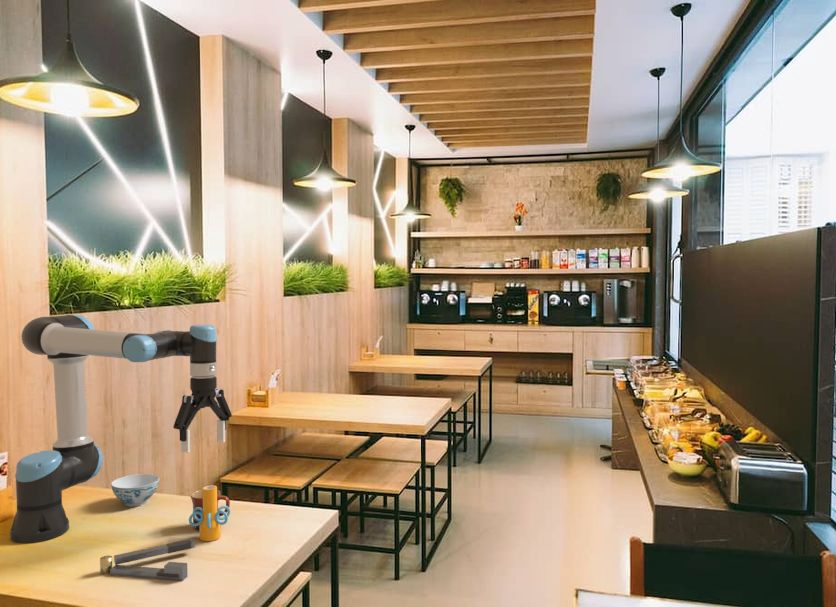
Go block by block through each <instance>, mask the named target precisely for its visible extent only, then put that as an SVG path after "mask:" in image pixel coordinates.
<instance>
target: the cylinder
mask: <svg viewBox="0 0 836 607" xmlns="http://www.w3.org/2000/svg"><path fill="white" fill-rule="evenodd" d="M202 490H203V509H202V508H200V507H196V508H195V509H194V510H193V509H192V513H191V514H190V516H189V517H188V523H189V525H190V526H191V527H194V526H199V525H200V526H199V529H198V530H199V532H198V533H199V540H200V541H202V542H214V541H217V540H219V539H220V538H221V537H222V531H221V530H222V529H221V527H222V526H224V525H226V524H227V523H228V521H229V517H230V515H231V508H230V507H228V506H226V505H221V506H219V507H218V510H217V490H218V486H217V485H212V484H211V485H205V486H203V487H202ZM223 509H227V513H226V512H224V511H225V510H223ZM196 510H200V511H201V512H202V513H201V512H196ZM219 513H222V514H224V515H223V516H219ZM196 514H199V515H200V516H201V519H199V518H197V517H196ZM193 517H194V519H195V520H196V521H199V522H198V523H196V524H194V523H193Z"/></svg>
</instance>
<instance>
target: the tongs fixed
mask: <svg viewBox="0 0 836 607" xmlns="http://www.w3.org/2000/svg"><path fill="white" fill-rule="evenodd" d="M99 566H100V567H99V571H100V572H99V573H100V575H102V576H105V575H106V576H107V575H110V576H119V577H132V578H144V579H145V578H146V579H153V580H154V579H156V580H165V581H166V580H168V581H179V582H183V581H184V580H186V578H187V577H188V563H187V562H180V561H179V562H178V561H177V562H175V561H168V562H167V563H165V565H164V566H163V567H161V568H160V567H149V566H137V565H136V566H135V565H122V564H118V565H115V564H114V566H113V556H112V555H104V556H101V557H100V558H99Z"/></svg>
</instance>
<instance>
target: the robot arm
mask: <svg viewBox="0 0 836 607" xmlns="http://www.w3.org/2000/svg"><path fill="white" fill-rule="evenodd" d="M216 329H217V328H216V327H215V325H214V324H193V325H191V326H190V327H189V331H188V330H187V331H182V330H181V331H180V330H179V331H178V330H169V329H168V330H167V329H166V330H158V331H157V332H153V333H137V332H136V333H135V332H127V331H126V332H125V331H113V330H103V329H102V330H100V329H95V327H94V325H93V323H92V322H91V320H89V319H88V318H87V317H85V316H83V315H79V314H65V315H54V316H53V315H52V316H40V317H37V318H34V319H32V320H30V321H29V322H27V324H25V326H24V327H23V329H22V332H21V343H22V344H23V347H24V348H25V349H26V350H28V351H29V352H30V353H32V354H35V355H39V356H44V355H45V356H47V358H46V359H47V360H48V361H49V362H50V363H51V364H53V378H54V379H53V381H54V399H55V416H56V417H55V419H56V431H57V432H56V433H57V439H56V440H55V442H53V443H52V449H51V450H42V451H39V452H33V453H30V454H27V455H25V456H24V457H22V458H21V459H20V460H18V462H17V463H16V467H15V468H16V469H15V475H14V476H15V477H14V478H15V491H16V494H15V495H16V496H15V497H16V512H15V516H14V518H13V520H12V525H11V527H10V530H9V536H10V537H9V538H10V540H11V541H12V542H15V543H21V544H22V543H23V544H28V543H29V544H30V543H37V542H43V541H47V540H52V539H55V538H58V537H60V536H62V535H64V534H65V533H67V532H68V531H69V529H70V520H69V518H68V517H67V513H66V511H65V508H64V505H63V500H62V499H63V491H65V490H66V489H69V488H72V487H74V486H76V485H79V484H83V483H86V482H88V481H89V480H91V479H93V478H95V476H97V475H98V473H99V472H100V471H101V469H102V466H103V462H104V456H103V452H102V450H101V449H99V448H100V447H99V446H98V444H96V443H94V442H95V441H94V438H93V437H91V436H90V435H89V430H88V429H89V428H88V426H89V425H88V412H87V411H88V410H87V409H88V408H87V394H86V375H85V373H86V372H85V360H87V358H88V357H90V356H95V357H105V358H113V359H115V358H116V359H124V360H125V359H127V360H128V361H129V362H132V363H146V362H149V361H153V360H158V359H160V360H161V359H164V358H170V357H189V376H190V378H189V379H190V380H189V383H190V384H189V385H190V386H189V387H190V391H191V395H186V394H183V396H182V398H181V399H182V400H181V404H180V408H179V409H178V413H177V415H176V418H175V421H174V423H173V427H172V428H173V429H175V430H179V441H180V443H181V444H180V446H181V449H180V450H181V453H182V452H184V453H191V436H190V434H191V433H190V432H191V431H190V429H189V427H190V425H191V423H192V422H193V420H194V418H195V417H196V415H197V413H198V412H199V411H200V410H201V409H204V408H210V409H211V410H212V411H213V413H214V414H215V416H216V417H217V418H218V420H216V442H220V443H225V442H226V431H227V421H230V418H232V416H233V415H232V412H231V410H230V407H229V405H228V403H227V400H226V398H225V392H224V389H223V388H222V389H220V388H217V385H218V384H217V380H218V378H217V341H218V340H217V330H216Z"/></svg>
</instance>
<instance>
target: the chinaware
mask: <svg viewBox="0 0 836 607" xmlns="http://www.w3.org/2000/svg"><path fill="white" fill-rule="evenodd" d="M159 483H160V477H159V476H158V475H155V474H149V473H140V474H131V475H130V474H129V475H126V476H123V477H119V478H116V479H113V481H112V482H111V483H110V486H111V489H112V492H113V495H114V496H115V497H116V499H118V500H120V501H121V502H122V503H124V505H125V506H126V507H133V506H134V507H138V506H143V505H145V504H147V502H148V501H147V500H149V499H150V498H151V497H153V495H154V493H156V491H157V489H158V486H159ZM134 507H133V508H134Z"/></svg>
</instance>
